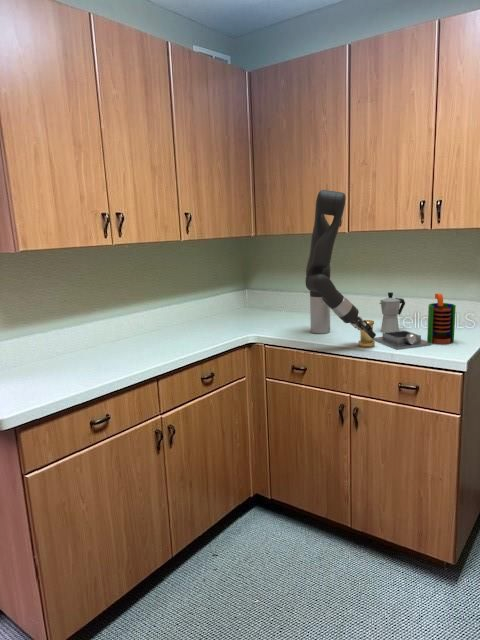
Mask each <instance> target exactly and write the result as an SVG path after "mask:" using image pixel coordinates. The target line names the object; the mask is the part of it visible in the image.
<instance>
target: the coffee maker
mask: <svg viewBox="0 0 480 640" xmlns="http://www.w3.org/2000/svg"><path fill="white" fill-rule="evenodd" d="M387 296H388V297H386V298H383V299H380V302H379V304H380V308H381V314H382V321H381V326H380V327H381V328H380V332H381V333H388V332H397V331H400V327H399V321H398V316H400V315H401V314H402V312H403V309H404V307H405V305H406V302H405V298H398V297H393V296H394V292H391V291H390V292H389V291H388V292H387Z"/></svg>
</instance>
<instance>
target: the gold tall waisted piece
mask: <svg viewBox="0 0 480 640" xmlns="http://www.w3.org/2000/svg"><path fill="white" fill-rule="evenodd" d="M364 320H365V321H366V322H367V323H368V324H369V325H370V326H371V327H372V331H373V332H374V325H375V321H374V320H373V319H371V320H370V319H364ZM361 328H362V327H361ZM359 333H360V334H359V335H360V336H359V337H360V339H359V340H358V347H360V348H373V347H375V343H376V341H374V340H373V338H371V337H370V336H369V335H368V334H367V333H366V332H365V331H363V330H359Z"/></svg>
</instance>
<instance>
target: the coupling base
mask: <svg viewBox="0 0 480 640" xmlns="http://www.w3.org/2000/svg"><path fill="white" fill-rule="evenodd" d="M373 341H374V342H375V343H379V344H382V345H384V346H386V347H389V348H392V349H394V350H398V351H399V350H405V349H412V348H421V347H428V346H432V345H433V343H431V342H428V341H427V340H425V339H422V335H420V334H416V333H414V332H410V331H408V330H399V331H397V332H388V333H384V332H382V336H379V337H376V336H375V337H374V338H373Z"/></svg>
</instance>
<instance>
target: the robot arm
mask: <svg viewBox="0 0 480 640" xmlns="http://www.w3.org/2000/svg"><path fill="white" fill-rule="evenodd" d="M345 207H346V194H345V193H344V192H341V191H335V190H329V189H328V190H327V189H321V190H320V191H318V193H317V196H316V202H315V210H314V223H313V224H314V225H313V229H312V234H311V241H310V249H309V255H308V256H309V257H308V260H307V264H306V269H305V270H306V271H305V287H306V289H307V290H308V291H309V308H310V310H309V311H310V312H309V313H310V314H309V315H310V316H309V317H310V319H309V320H310V333H313V334H328V333H331V310H332V312H333V313H334V315H336V316H337V317H338V318H339V319H340V320H341V321H342V322H343V323H344V324H350V325H351V326H352V327H354V328H355V329H357V330H358V331H360V330H363V331H365V332H366V333H367V334H368V335H369V336H370V337H371V338H376V336H377V333H375V332H374V330H373V331H372V327H371V326H370V325H369V324H368V323H367V322H366V321H365V320H366V319H363V318H362V317H361V316H359V313H360V311H359V309H358V308H357V307H356V306H355V305H354V304H353V303H352V302H351V300H349V299H348V298H347V297H345V296H344V295H343V294H342V293H341V292H340V291H339V290H338V289H337V288H336V285H335V284H334V282H333V281H332V280H331V260H332V254H333V250H334V245H335V241H336V239H337V235H338V232H339V229H340V225H341V221H342V218H343V214H344V210H345ZM327 215H328V216H332V217H333V219H332V222H331V224H329V222H328V220H327V218H326V216H327ZM361 327H362V328H361Z"/></svg>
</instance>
